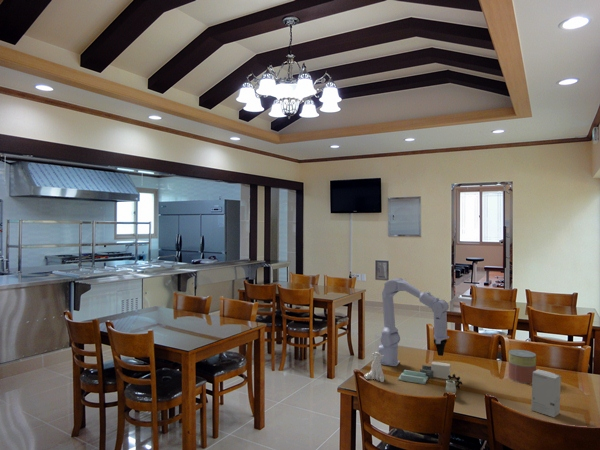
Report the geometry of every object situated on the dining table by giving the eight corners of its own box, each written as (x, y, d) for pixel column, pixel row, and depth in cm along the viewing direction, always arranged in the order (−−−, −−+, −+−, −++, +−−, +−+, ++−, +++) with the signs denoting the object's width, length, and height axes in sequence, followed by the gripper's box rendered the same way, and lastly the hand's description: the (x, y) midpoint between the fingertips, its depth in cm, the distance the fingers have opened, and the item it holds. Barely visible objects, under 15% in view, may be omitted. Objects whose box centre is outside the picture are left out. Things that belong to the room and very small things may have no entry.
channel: (419, 375, 194) (419, 369, 194) (422, 371, 200) (422, 364, 200) (433, 378, 191) (433, 371, 191) (435, 373, 197) (435, 366, 197)
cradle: (398, 379, 189) (398, 374, 189) (402, 374, 196) (402, 369, 196) (425, 384, 183) (425, 378, 183) (428, 378, 191) (428, 373, 191)
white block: (431, 376, 193) (431, 364, 193) (432, 374, 196) (432, 361, 196) (449, 379, 189) (449, 366, 189) (450, 376, 193) (450, 363, 193)
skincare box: (531, 410, 157) (530, 371, 157) (537, 406, 161) (537, 368, 161) (555, 418, 150) (555, 377, 150) (561, 413, 154) (561, 374, 154)
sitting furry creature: (363, 379, 190) (363, 353, 190) (368, 373, 198) (368, 348, 198) (383, 382, 186) (383, 356, 186) (388, 376, 193) (387, 351, 194)
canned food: (535, 376, 192) (534, 351, 192) (537, 385, 182) (537, 358, 182) (508, 373, 197) (507, 348, 197) (509, 381, 186) (508, 355, 186)
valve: (458, 400, 166) (462, 390, 177) (458, 384, 166) (462, 375, 177) (441, 397, 169) (446, 387, 180) (441, 381, 169) (446, 372, 180)
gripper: (447, 330, 185) (447, 361, 185) (451, 323, 198) (451, 352, 197) (430, 329, 188) (431, 358, 188) (436, 322, 201) (436, 350, 201)
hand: (440, 355), depth 193 cm, fingers closed
